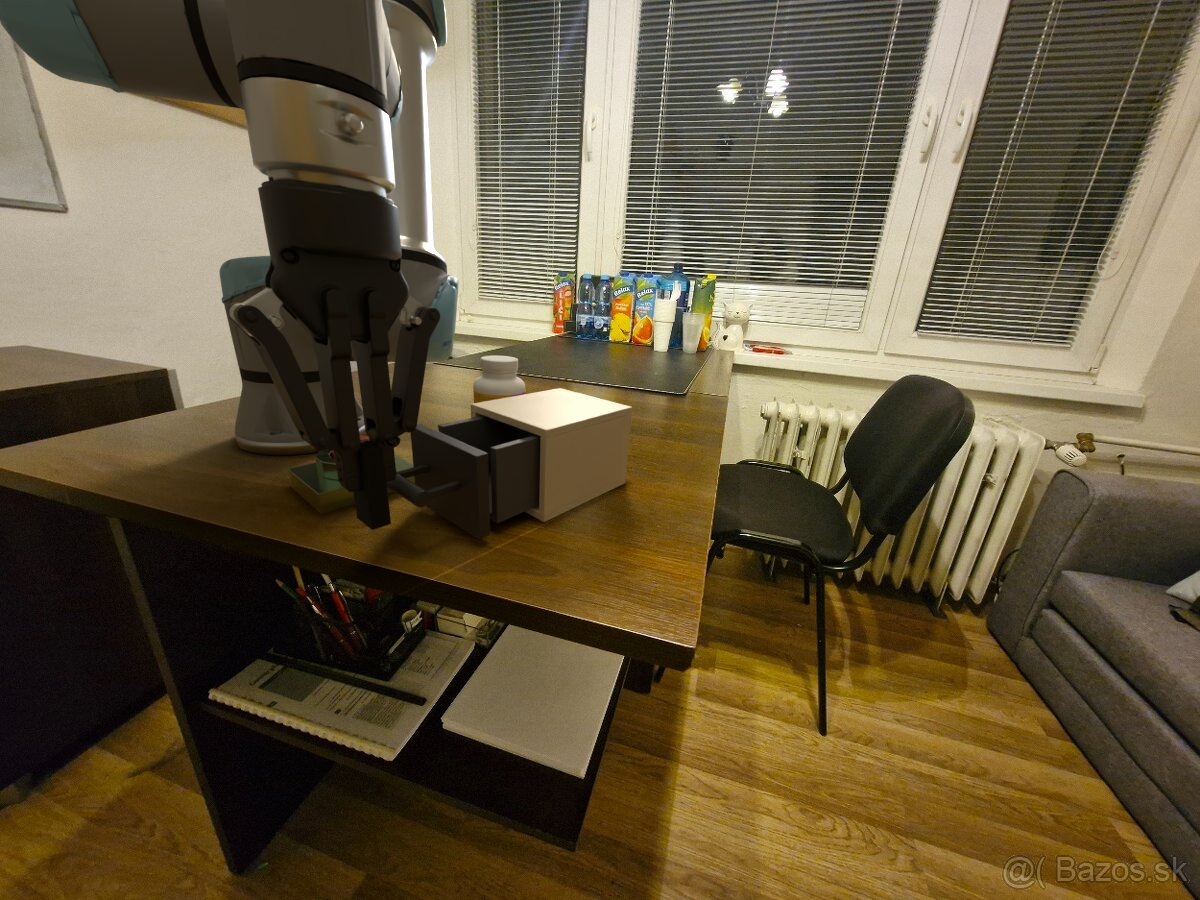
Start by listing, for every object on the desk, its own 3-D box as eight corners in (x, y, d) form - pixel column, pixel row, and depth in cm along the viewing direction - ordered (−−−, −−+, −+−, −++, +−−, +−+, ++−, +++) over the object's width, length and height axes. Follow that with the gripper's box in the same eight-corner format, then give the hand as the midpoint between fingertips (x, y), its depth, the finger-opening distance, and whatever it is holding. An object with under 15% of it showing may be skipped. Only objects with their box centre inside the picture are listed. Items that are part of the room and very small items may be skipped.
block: (291, 487, 47) (284, 452, 45) (384, 464, 54) (381, 433, 53) (321, 514, 42) (314, 476, 41) (419, 484, 49) (416, 451, 48)
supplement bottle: (514, 464, 56) (513, 364, 52) (466, 457, 57) (462, 359, 53) (531, 447, 63) (533, 357, 58) (488, 441, 64) (486, 352, 59)
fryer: (544, 522, 43) (546, 430, 40) (473, 485, 50) (470, 403, 47) (625, 483, 53) (632, 406, 50) (557, 456, 60) (559, 387, 57)
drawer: (433, 560, 35) (426, 470, 32) (372, 514, 41) (362, 435, 38) (576, 495, 47) (579, 427, 44) (513, 467, 53) (512, 405, 51)
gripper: (211, 153, 20) (298, 576, 29) (457, 204, 30) (470, 510, 38) (178, 169, 25) (262, 532, 33) (402, 210, 34) (424, 483, 42)
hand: (373, 520), depth 36 cm, fingers closed
